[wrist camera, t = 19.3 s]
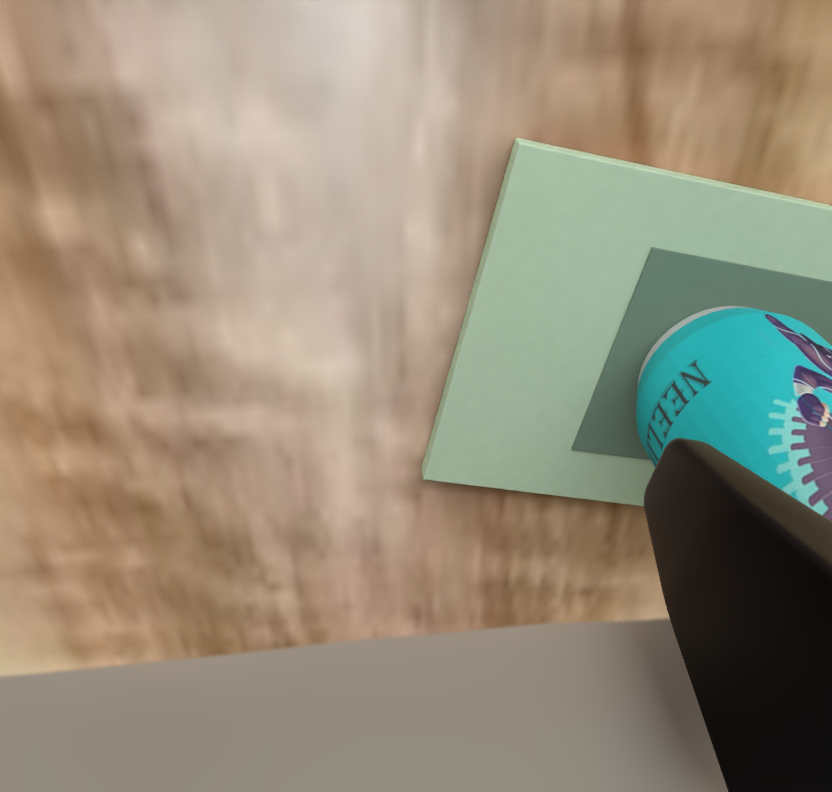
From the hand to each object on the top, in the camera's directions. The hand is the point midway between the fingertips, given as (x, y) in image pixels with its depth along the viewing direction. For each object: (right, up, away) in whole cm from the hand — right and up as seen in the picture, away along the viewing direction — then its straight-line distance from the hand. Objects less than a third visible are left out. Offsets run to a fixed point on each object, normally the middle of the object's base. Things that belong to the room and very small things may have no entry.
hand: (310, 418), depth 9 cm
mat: (+10, +1, +16) cm, 19 cm away
